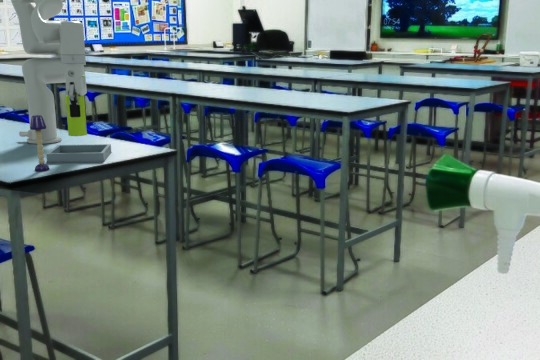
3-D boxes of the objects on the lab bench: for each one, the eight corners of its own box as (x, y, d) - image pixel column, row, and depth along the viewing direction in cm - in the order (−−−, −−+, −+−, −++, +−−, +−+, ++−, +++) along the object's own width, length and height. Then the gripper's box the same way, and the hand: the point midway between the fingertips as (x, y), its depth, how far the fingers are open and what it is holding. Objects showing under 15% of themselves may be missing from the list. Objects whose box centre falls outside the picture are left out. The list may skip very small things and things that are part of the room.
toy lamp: (30, 170, 183) (25, 116, 179) (41, 167, 188) (36, 114, 184) (43, 171, 182) (38, 116, 178) (53, 168, 186) (49, 115, 182)
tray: (46, 162, 194) (46, 153, 193) (58, 153, 210) (57, 145, 209) (103, 162, 196) (103, 153, 195) (111, 152, 211) (110, 144, 211)
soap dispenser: (84, 136, 197) (79, 75, 192) (65, 135, 199) (60, 74, 194) (92, 133, 203) (88, 73, 198) (74, 133, 204) (69, 73, 199)
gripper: (80, 61, 187) (84, 119, 191) (90, 59, 204) (93, 112, 208) (55, 61, 186) (59, 119, 191) (67, 59, 203) (71, 112, 207)
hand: (77, 115), depth 199 cm, fingers closed on soap dispenser, 6 cm apart
